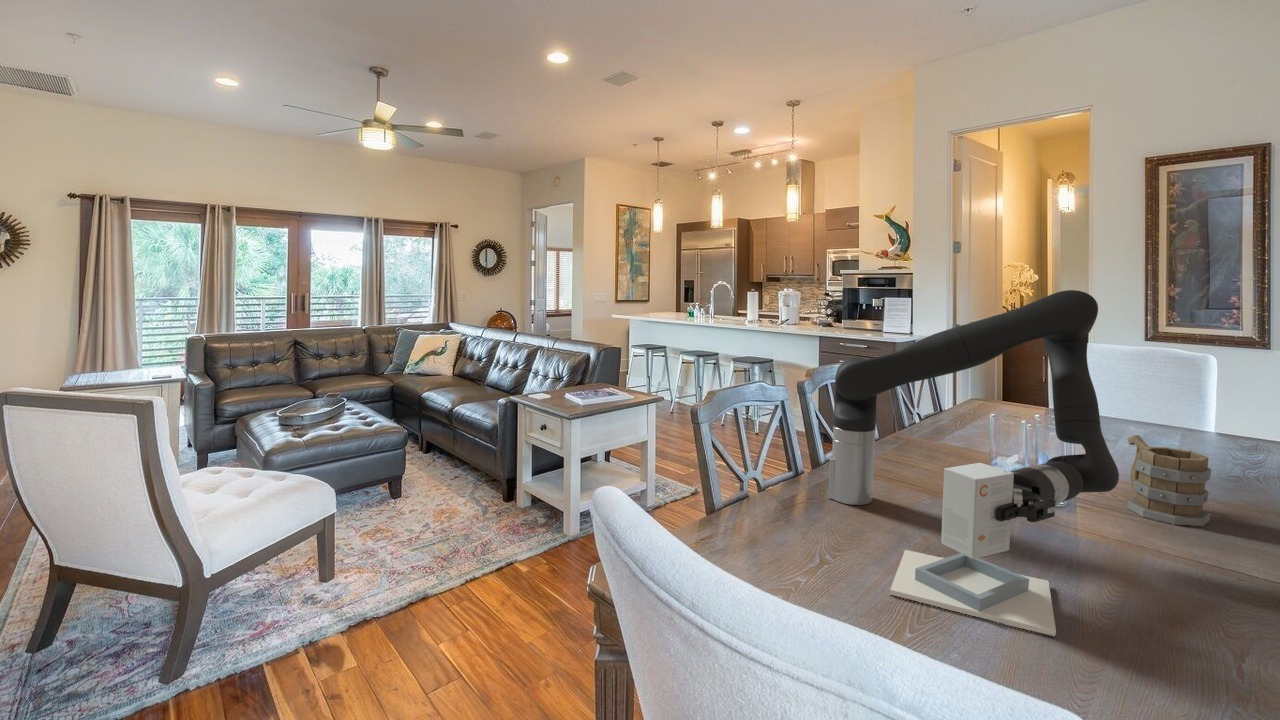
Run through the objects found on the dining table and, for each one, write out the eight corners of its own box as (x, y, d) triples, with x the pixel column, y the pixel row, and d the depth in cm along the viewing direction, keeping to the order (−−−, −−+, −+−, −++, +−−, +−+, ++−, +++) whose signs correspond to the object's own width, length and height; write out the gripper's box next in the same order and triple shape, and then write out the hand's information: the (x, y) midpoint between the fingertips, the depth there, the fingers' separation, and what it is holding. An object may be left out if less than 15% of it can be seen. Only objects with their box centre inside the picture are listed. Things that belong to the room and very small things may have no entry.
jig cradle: (889, 595, 95) (890, 577, 94) (904, 554, 109) (905, 539, 109) (1055, 638, 83) (1057, 618, 83) (1047, 586, 98) (1049, 569, 97)
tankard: (1223, 528, 121) (1232, 458, 119) (1154, 524, 123) (1162, 455, 122) (1156, 494, 141) (1163, 434, 139) (1098, 491, 143) (1104, 431, 141)
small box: (975, 535, 100) (980, 461, 98) (1010, 551, 94) (1015, 472, 92) (939, 543, 97) (943, 467, 95) (972, 560, 91) (977, 479, 89)
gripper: (992, 457, 108) (935, 472, 100) (1081, 479, 95) (1023, 498, 87) (990, 496, 109) (932, 514, 101) (1077, 523, 96) (1020, 546, 88)
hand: (975, 507), depth 94 cm, fingers closed on small box, 7 cm apart
